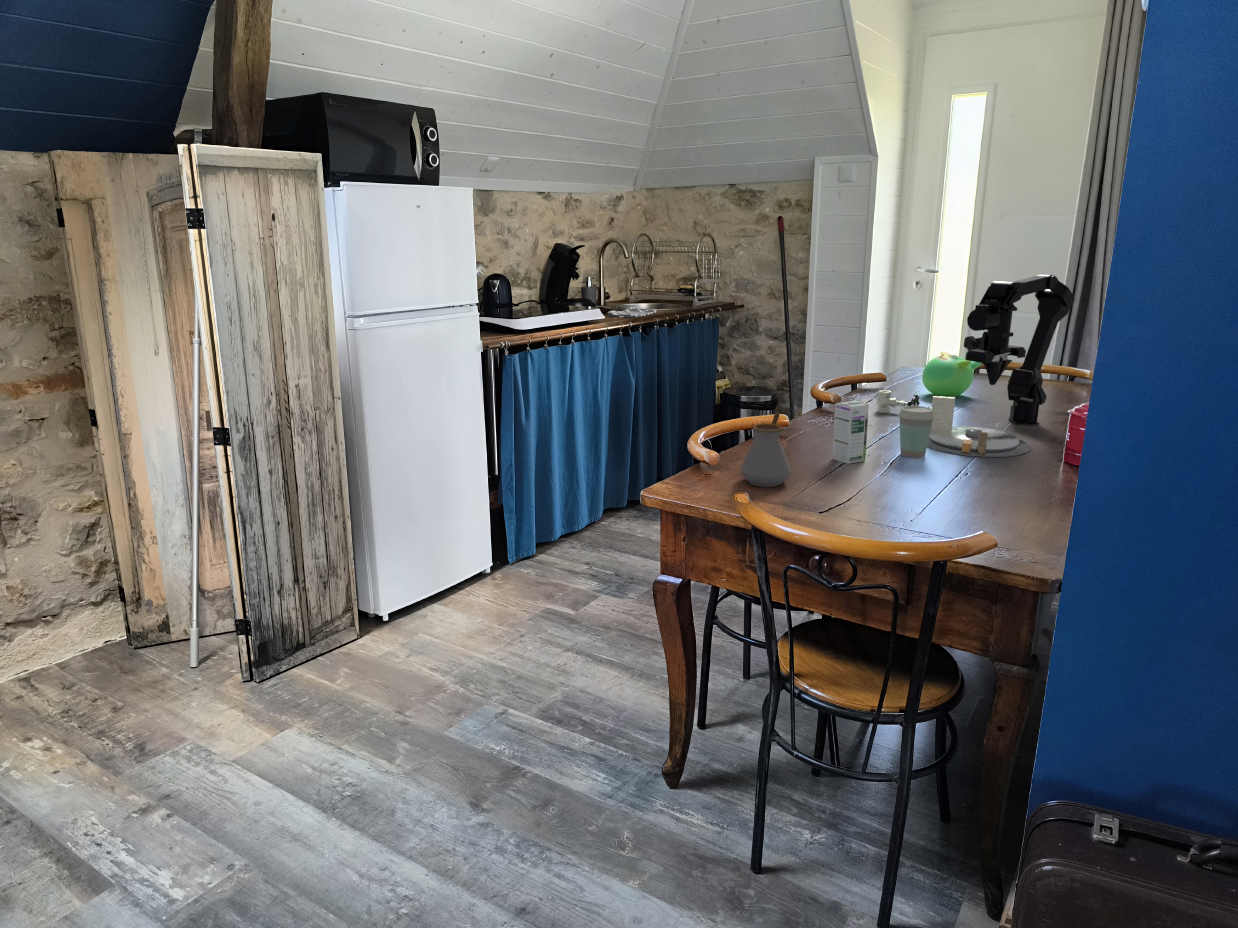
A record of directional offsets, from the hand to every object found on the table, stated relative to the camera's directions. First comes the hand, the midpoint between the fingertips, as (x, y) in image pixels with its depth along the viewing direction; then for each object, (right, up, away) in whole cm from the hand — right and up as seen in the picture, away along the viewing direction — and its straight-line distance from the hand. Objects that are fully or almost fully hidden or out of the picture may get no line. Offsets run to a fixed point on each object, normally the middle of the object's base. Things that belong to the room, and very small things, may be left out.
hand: (992, 384), depth 229 cm
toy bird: (+7, +1, +49) cm, 50 cm away
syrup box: (-47, -21, -24) cm, 57 cm away
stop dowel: (-13, -20, -22) cm, 32 cm away
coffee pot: (-69, -25, -36) cm, 82 cm away
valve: (-18, -7, +26) cm, 32 cm away
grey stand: (-10, -16, -11) cm, 22 cm away
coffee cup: (-30, -20, -21) cm, 41 cm away
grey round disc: (-10, -17, -10) cm, 22 cm away
